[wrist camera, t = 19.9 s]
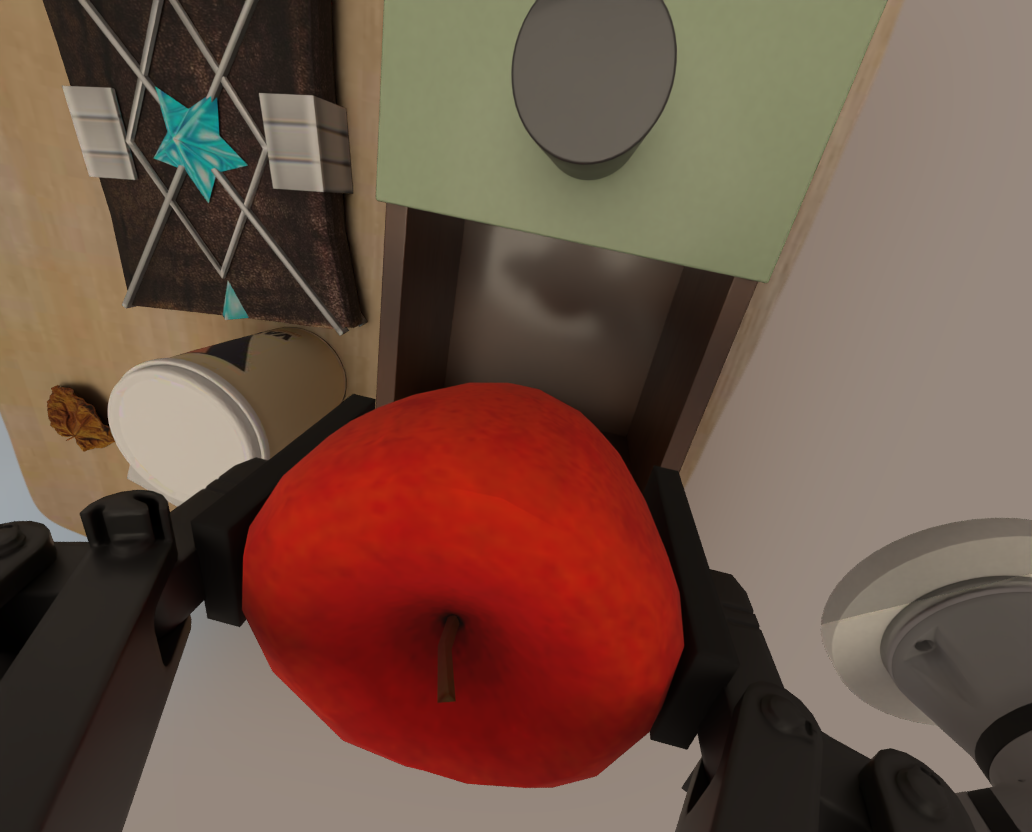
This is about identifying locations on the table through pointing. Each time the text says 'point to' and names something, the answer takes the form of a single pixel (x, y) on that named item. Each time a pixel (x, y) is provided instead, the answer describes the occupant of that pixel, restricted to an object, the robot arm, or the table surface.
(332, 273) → the book
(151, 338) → the table surface
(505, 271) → the slide box
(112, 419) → the coffee cup
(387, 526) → the apple
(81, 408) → the leaf
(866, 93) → the table surface
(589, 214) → the slide lid
